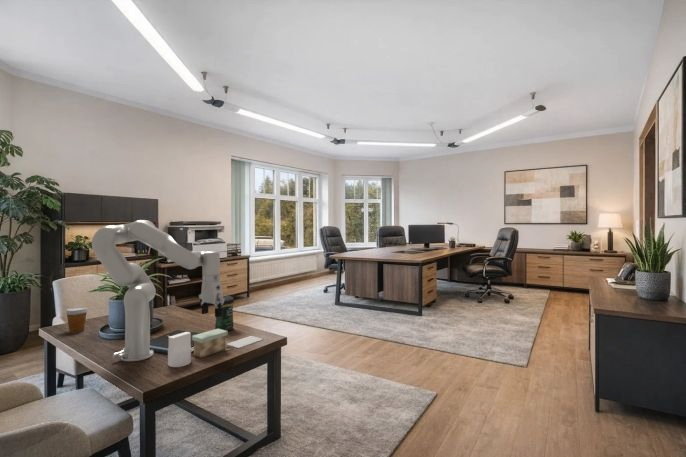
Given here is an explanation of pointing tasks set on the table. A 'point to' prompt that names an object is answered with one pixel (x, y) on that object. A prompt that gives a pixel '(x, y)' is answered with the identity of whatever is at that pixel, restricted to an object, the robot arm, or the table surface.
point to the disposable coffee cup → (76, 318)
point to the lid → (209, 335)
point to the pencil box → (209, 347)
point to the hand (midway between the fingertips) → (211, 315)
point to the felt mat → (244, 342)
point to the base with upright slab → (179, 350)
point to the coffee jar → (226, 315)
